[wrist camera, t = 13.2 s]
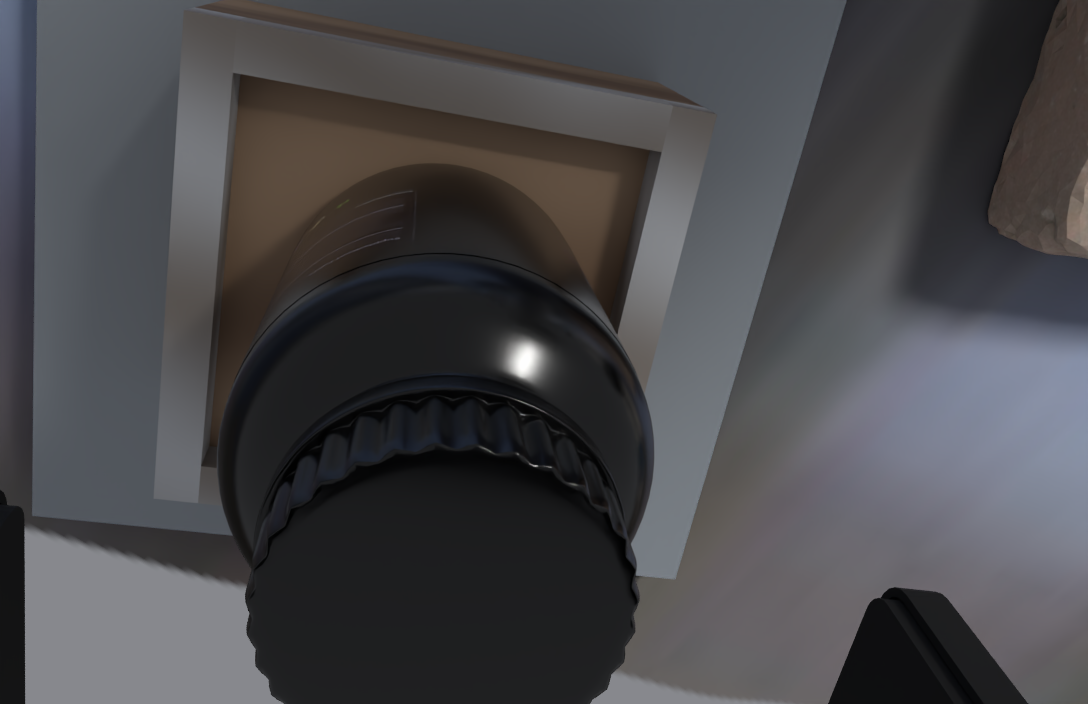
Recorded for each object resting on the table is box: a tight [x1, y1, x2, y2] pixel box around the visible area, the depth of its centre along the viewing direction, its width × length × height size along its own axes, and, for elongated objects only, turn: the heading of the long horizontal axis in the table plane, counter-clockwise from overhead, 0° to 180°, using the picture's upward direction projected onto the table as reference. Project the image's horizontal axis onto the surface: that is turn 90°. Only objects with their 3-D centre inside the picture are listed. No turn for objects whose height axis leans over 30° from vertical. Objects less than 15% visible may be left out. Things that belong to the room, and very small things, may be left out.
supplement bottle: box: [217, 163, 654, 704], centre depth 17 cm, size 7×7×12 cm
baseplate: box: [32, 0, 847, 579], centre depth 27 cm, size 20×20×2 cm
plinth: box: [154, 0, 717, 506], centre depth 24 cm, size 11×11×6 cm
